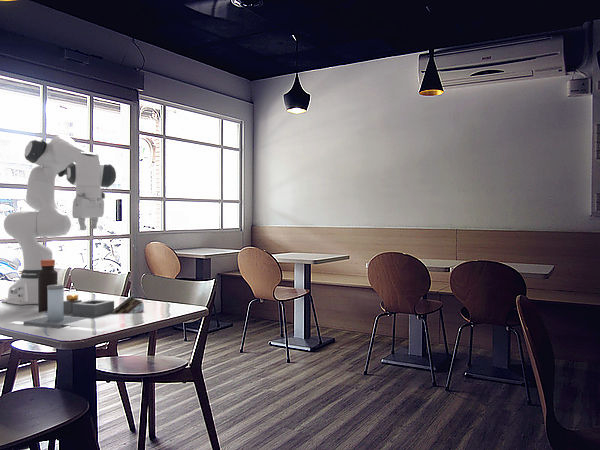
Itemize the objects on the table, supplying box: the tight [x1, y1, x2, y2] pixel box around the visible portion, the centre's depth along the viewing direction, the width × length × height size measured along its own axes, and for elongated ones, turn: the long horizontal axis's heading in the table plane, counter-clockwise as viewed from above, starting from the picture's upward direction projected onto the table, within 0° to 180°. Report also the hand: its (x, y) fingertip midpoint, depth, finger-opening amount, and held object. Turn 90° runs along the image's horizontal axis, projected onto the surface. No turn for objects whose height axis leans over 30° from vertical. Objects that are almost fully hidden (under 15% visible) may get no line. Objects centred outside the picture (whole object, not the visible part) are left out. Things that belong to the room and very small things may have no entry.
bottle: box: [37, 259, 59, 313], centre depth 199 cm, size 7×7×20 cm
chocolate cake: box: [111, 293, 145, 315], centre depth 194 cm, size 10×7×12 cm
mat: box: [23, 315, 88, 329], centre depth 178 cm, size 16×12×1 cm
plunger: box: [66, 294, 79, 302], centre depth 194 cm, size 4×4×6 cm
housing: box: [46, 299, 115, 319], centre depth 192 cm, size 22×16×5 cm
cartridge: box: [47, 284, 65, 322], centre depth 178 cm, size 5×5×12 cm
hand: (88, 229), depth 199 cm, fingers open, 8 cm apart
